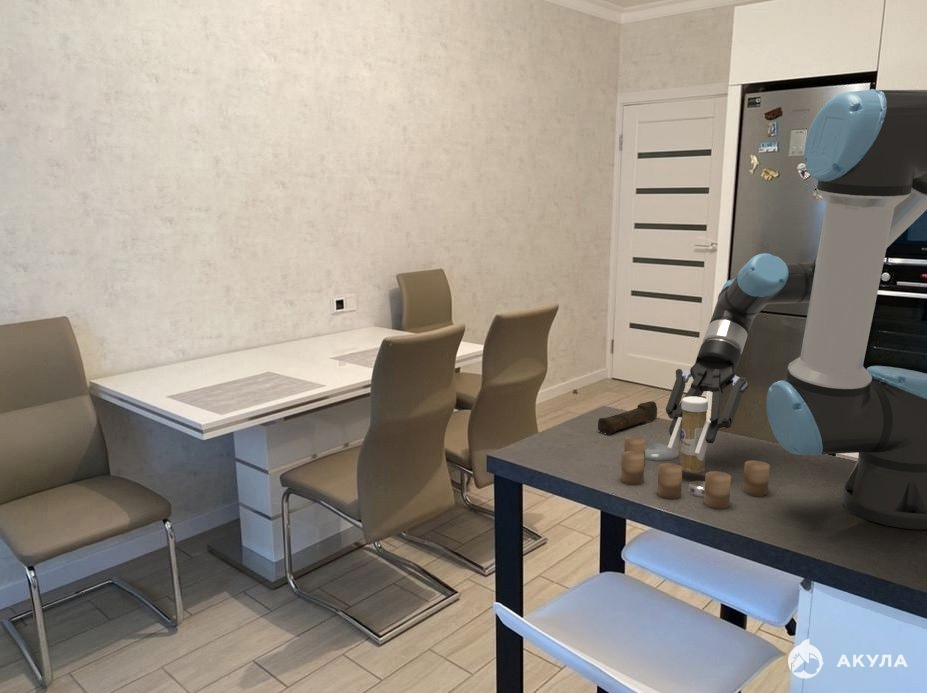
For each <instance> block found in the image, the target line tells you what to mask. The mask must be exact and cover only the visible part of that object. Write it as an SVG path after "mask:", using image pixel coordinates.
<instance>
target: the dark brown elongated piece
mask: <svg viewBox="0 0 927 693" xmlns="http://www.w3.org/2000/svg"><path fill="white" fill-rule="evenodd" d="M657 417H658V407H657V403H656V402H655V401H646V402H641V403H640V404H637V407H636V408H634V409H631V410H628V411H624V412H621V413H619V414H614V415H611V416H608V417H605V418H604V417H599V418H598V422H597V430H598V432H599V431H600V432H602V433H606V434H609V435H608V436H610V435H611V434H615V433H616V431H621V430H623V429H625V428H630V427H631V426H635V425H637V424H648V423H650V422H652V421H653V422H654V420H655V419H657ZM600 432H599V433H600ZM602 433H601V434H602Z"/></svg>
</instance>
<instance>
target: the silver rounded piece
mask: <svg viewBox="0 0 927 693" xmlns="http://www.w3.org/2000/svg"><path fill="white" fill-rule="evenodd" d="M687 489H688V494H689V495H691V496H693V497H698V498H705V480H704V481H703V480H702V481H701V480H694V481H690V482H689V483H688V488H687Z"/></svg>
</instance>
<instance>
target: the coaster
mask: <svg viewBox="0 0 927 693" xmlns="http://www.w3.org/2000/svg"><path fill="white" fill-rule="evenodd" d="M667 447H668V444H664V443H657V442H646V446H645V461H646V460H647V461H653V462H665V461H666V462H667V461H672V460H675V459H677V458H678V457H679V449H677V452H676V455H671V453H670V451H669V449H668V448H667Z"/></svg>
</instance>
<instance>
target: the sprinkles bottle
mask: <svg viewBox="0 0 927 693" xmlns="http://www.w3.org/2000/svg"><path fill="white" fill-rule="evenodd" d="M681 401H682V406H681V408H682V411H683V413H682V429H681V441H680V459H679V460H680V462H679V465H680V466H681V467H682V472H683V471H684V472H685V473H692V474H694V473H696V474H697V473H702V472H704V471H705V470H706V467H705V456H706V454H705V455H704V458H703V461H701V460H698V458H697V456H696V454H695V450H696V447H697V444H698V441H699V438H700V436H701V433H702V430H703V427H704V424H705V421H706V422H707V414H708V409H709V401H708V399H707V398H705V397H702V396H699V397H694V396H691V397H685V396H684V397H682V398H681Z"/></svg>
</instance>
